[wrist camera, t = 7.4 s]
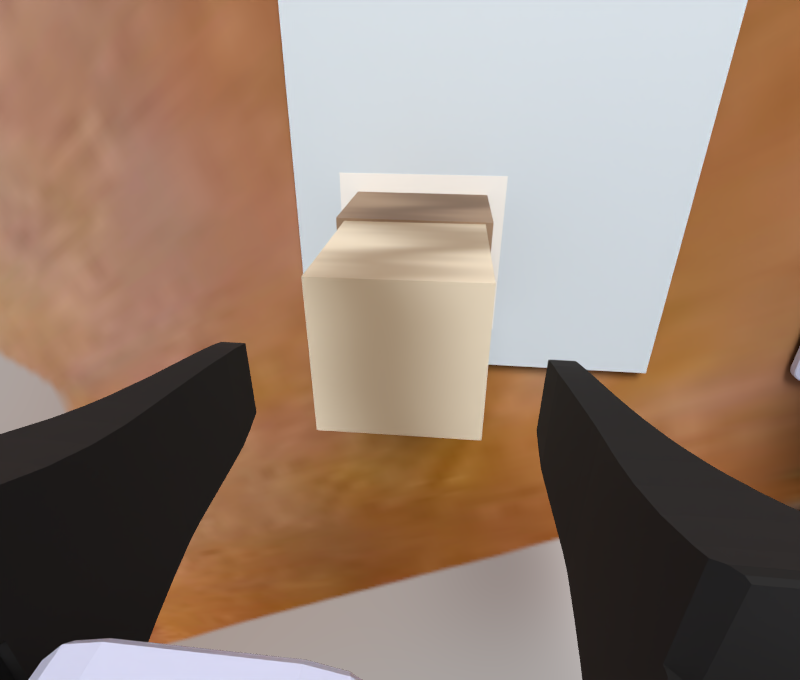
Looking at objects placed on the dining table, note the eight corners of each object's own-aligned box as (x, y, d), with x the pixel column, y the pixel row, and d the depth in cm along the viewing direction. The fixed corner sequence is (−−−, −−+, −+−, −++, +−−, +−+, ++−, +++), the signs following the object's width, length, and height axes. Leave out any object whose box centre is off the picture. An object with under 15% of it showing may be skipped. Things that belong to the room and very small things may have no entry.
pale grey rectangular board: (847, -408, 12) (865, -431, 12) (641, 366, 23) (645, 373, 22) (251, -364, 14) (242, -382, 13) (314, 348, 24) (310, 355, 23)
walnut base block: (487, 195, 19) (493, 222, 16) (477, 313, 22) (480, 360, 18) (358, 191, 20) (336, 217, 16) (362, 308, 22) (343, 353, 19)
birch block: (485, 224, 16) (495, 283, 11) (476, 349, 18) (481, 440, 14) (343, 220, 16) (301, 276, 12) (351, 343, 18) (316, 430, 14)
